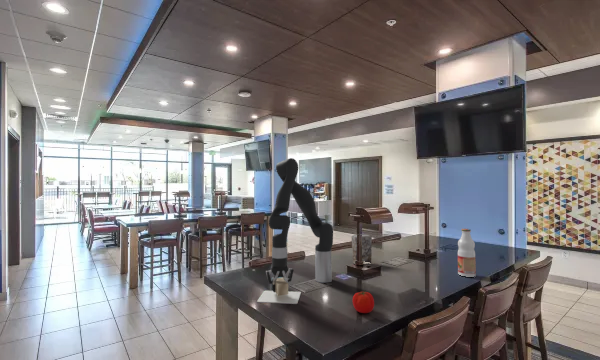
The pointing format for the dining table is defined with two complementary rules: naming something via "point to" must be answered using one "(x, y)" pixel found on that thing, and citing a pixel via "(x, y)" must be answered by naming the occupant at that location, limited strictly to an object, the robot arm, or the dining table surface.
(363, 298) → the tomato
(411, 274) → the dining table surface
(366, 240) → the stone block
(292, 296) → the grey mat
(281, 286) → the beige tall box
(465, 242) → the fruit juice
